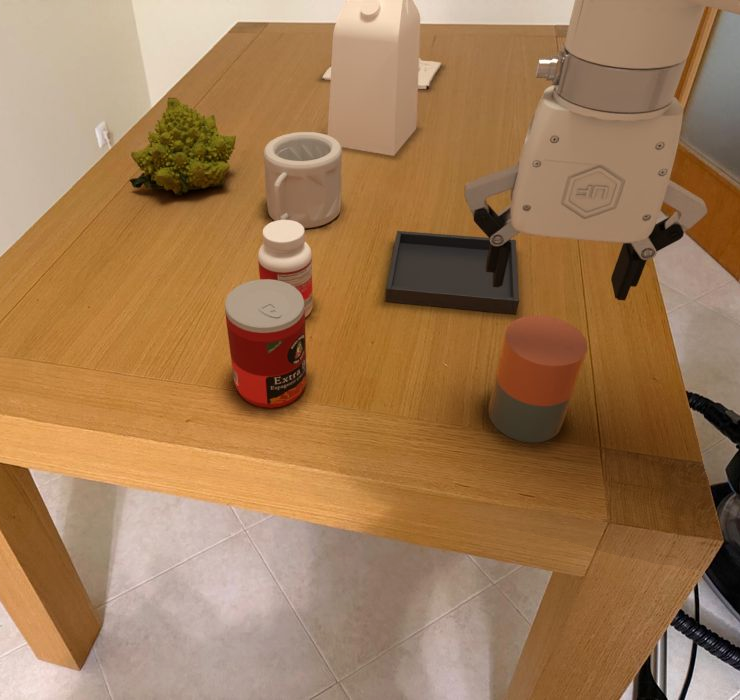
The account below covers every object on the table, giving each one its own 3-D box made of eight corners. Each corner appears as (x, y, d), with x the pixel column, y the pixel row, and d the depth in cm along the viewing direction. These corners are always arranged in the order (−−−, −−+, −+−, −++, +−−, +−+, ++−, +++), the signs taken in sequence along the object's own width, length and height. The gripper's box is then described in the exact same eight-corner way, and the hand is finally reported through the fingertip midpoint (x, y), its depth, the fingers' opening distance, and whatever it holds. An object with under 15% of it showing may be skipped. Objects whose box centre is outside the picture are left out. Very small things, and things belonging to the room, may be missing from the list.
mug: (288, 187, 106) (286, 125, 99) (352, 201, 101) (354, 137, 95) (244, 230, 97) (238, 164, 90) (312, 246, 93) (311, 179, 86)
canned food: (278, 420, 69) (273, 337, 62) (219, 389, 73) (207, 308, 65) (321, 377, 73) (321, 295, 66) (263, 350, 77) (256, 269, 70)
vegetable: (104, 179, 102) (136, 80, 98) (161, 189, 116) (191, 103, 112) (182, 219, 98) (219, 117, 93) (231, 224, 112) (266, 136, 108)
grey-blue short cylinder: (559, 395, 69) (570, 359, 66) (564, 447, 64) (577, 411, 61) (488, 387, 71) (496, 351, 68) (488, 437, 66) (496, 401, 62)
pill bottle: (260, 296, 85) (253, 218, 77) (309, 291, 85) (307, 213, 78) (264, 327, 80) (258, 247, 73) (316, 322, 80) (315, 242, 73)
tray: (513, 252, 89) (515, 239, 88) (515, 314, 79) (519, 300, 78) (396, 243, 92) (396, 230, 91) (385, 301, 83) (386, 288, 81)
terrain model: (335, 62, 150) (334, 38, 147) (442, 61, 144) (443, 36, 141) (318, 89, 138) (317, 63, 135) (434, 89, 132) (435, 62, 129)
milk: (416, 128, 119) (431, -39, 102) (393, 156, 112) (405, -20, 95) (352, 118, 124) (356, -43, 107) (327, 144, 116) (326, -25, 99)
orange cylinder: (570, 359, 66) (583, 319, 63) (577, 411, 61) (591, 370, 58) (496, 351, 68) (504, 311, 64) (496, 401, 62) (505, 360, 59)
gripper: (483, 93, 45) (448, 299, 56) (776, 107, 41) (676, 324, 53) (484, 54, 50) (452, 250, 62) (743, 64, 47) (659, 269, 58)
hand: (556, 284), depth 57 cm, fingers open, 9 cm apart
